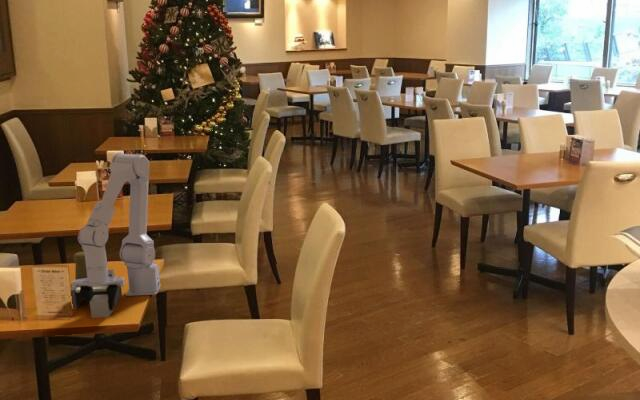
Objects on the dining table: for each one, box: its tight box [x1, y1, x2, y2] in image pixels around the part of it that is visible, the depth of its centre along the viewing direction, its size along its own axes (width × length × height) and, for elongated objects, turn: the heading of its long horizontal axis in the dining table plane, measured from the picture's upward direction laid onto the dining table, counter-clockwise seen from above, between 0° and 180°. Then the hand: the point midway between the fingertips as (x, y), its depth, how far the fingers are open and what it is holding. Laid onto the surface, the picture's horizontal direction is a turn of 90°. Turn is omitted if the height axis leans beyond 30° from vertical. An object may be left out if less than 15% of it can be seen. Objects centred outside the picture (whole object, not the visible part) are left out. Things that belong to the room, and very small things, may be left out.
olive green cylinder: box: [72, 251, 87, 280], centre depth 214 cm, size 6×6×11 cm
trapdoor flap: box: [75, 269, 116, 292], centre depth 202 cm, size 9×12×4 cm
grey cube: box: [89, 294, 114, 319], centre depth 193 cm, size 5×5×5 cm
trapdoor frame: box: [70, 276, 123, 310], centre depth 201 cm, size 13×9×6 cm
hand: (102, 309), depth 193 cm, fingers closed on grey cube, 5 cm apart
